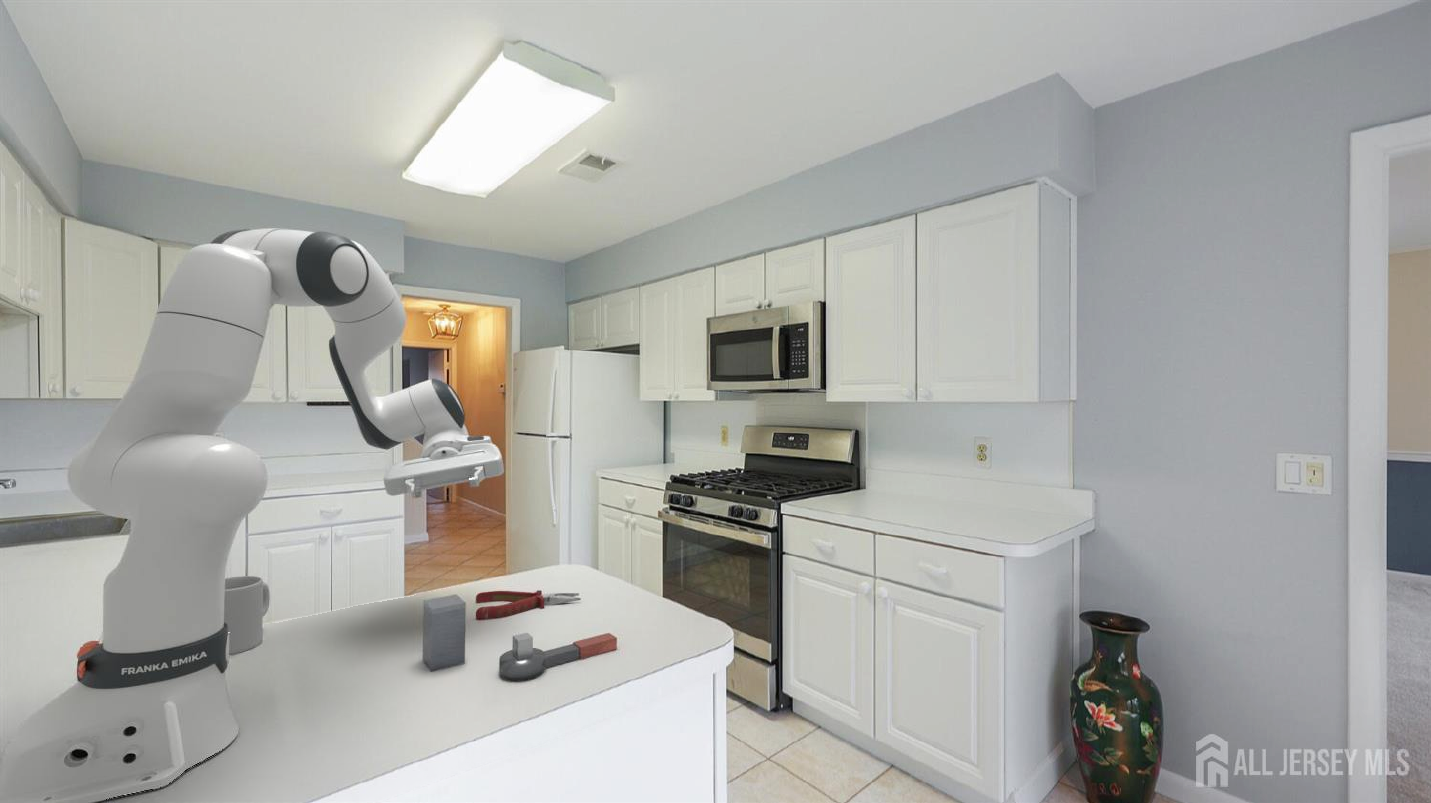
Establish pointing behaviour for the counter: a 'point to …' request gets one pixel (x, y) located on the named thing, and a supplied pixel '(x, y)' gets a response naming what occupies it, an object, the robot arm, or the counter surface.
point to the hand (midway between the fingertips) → (445, 488)
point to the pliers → (518, 602)
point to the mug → (245, 611)
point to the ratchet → (547, 655)
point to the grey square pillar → (444, 632)
